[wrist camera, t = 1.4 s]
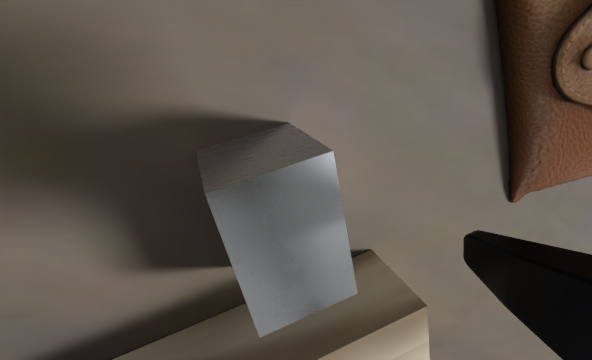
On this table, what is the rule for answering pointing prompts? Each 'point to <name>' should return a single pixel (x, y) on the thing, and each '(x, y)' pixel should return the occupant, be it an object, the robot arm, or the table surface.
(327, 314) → the well
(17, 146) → the table surface
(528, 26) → the sunglasses case
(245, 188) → the grey rectangular block
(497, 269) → the robot arm
